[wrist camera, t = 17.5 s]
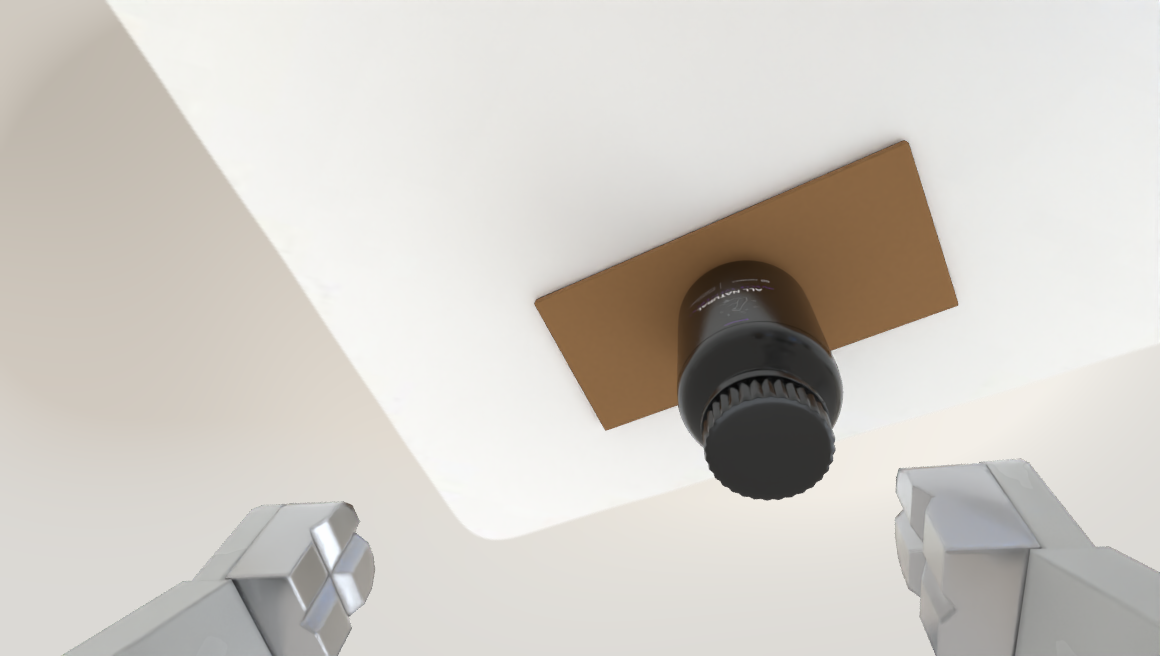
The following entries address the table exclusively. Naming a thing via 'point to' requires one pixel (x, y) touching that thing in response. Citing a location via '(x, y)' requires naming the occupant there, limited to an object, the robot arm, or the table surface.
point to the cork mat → (775, 236)
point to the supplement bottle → (757, 380)
